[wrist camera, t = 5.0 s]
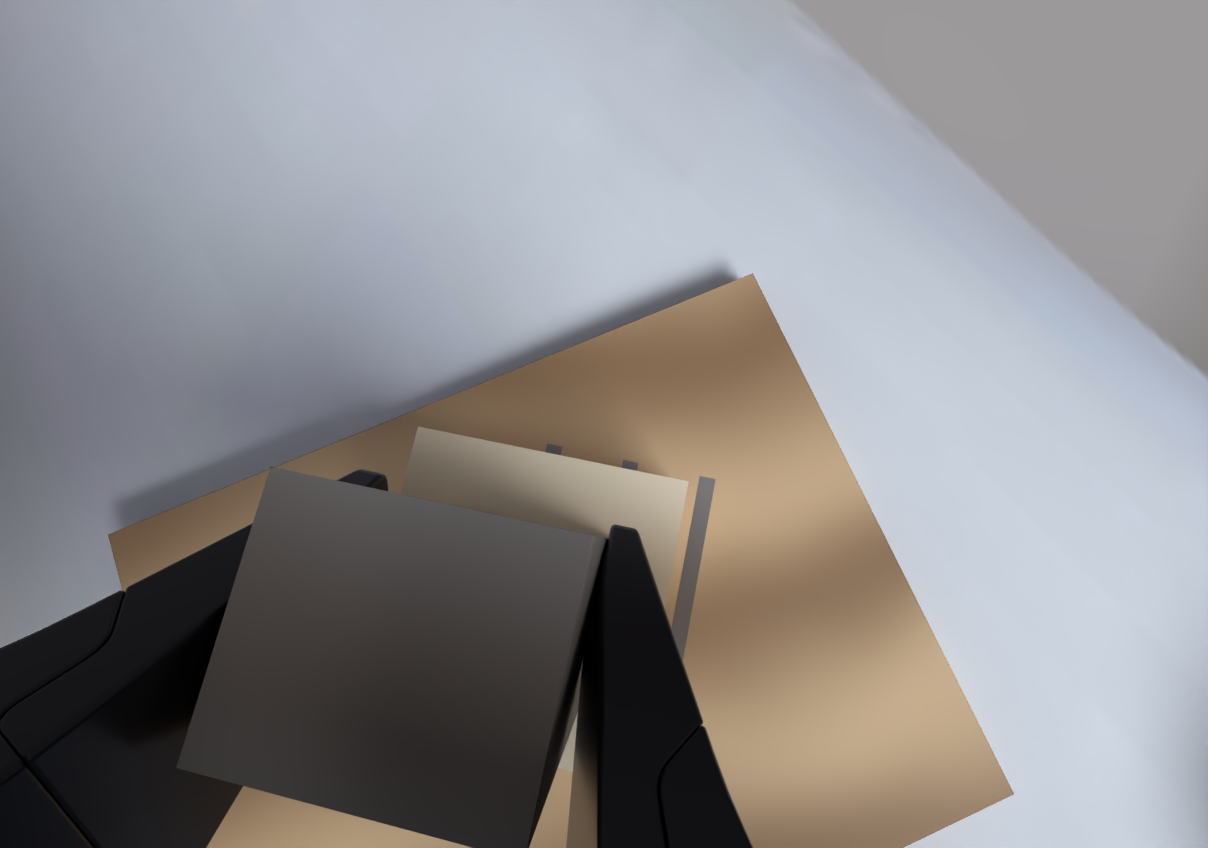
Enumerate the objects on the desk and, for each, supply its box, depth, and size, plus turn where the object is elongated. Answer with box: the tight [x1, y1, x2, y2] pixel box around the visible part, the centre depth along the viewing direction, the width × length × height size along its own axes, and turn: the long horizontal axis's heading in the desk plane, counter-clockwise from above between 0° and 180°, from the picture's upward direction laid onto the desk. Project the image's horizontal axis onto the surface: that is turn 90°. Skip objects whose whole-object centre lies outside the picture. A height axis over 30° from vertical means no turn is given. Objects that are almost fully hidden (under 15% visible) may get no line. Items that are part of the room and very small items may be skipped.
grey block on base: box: [176, 427, 689, 848], centre depth 10 cm, size 6×6×9 cm
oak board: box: [108, 273, 1014, 848], centre depth 15 cm, size 14×18×1 cm
